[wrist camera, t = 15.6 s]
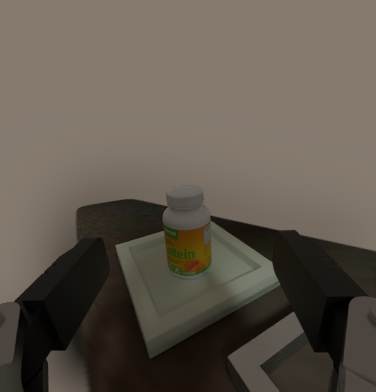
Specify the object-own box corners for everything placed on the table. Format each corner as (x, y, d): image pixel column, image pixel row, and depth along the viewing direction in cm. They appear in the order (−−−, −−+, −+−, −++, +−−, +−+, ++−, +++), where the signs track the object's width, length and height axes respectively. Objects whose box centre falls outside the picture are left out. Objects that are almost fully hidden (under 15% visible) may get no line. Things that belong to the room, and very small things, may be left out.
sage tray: (207, 228, 35) (206, 217, 34) (281, 284, 22) (282, 269, 21) (117, 257, 28) (115, 245, 28) (149, 359, 16) (146, 341, 15)
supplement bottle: (160, 275, 23) (149, 197, 20) (178, 248, 28) (172, 182, 25) (204, 285, 21) (200, 201, 18) (216, 255, 26) (215, 184, 23)
